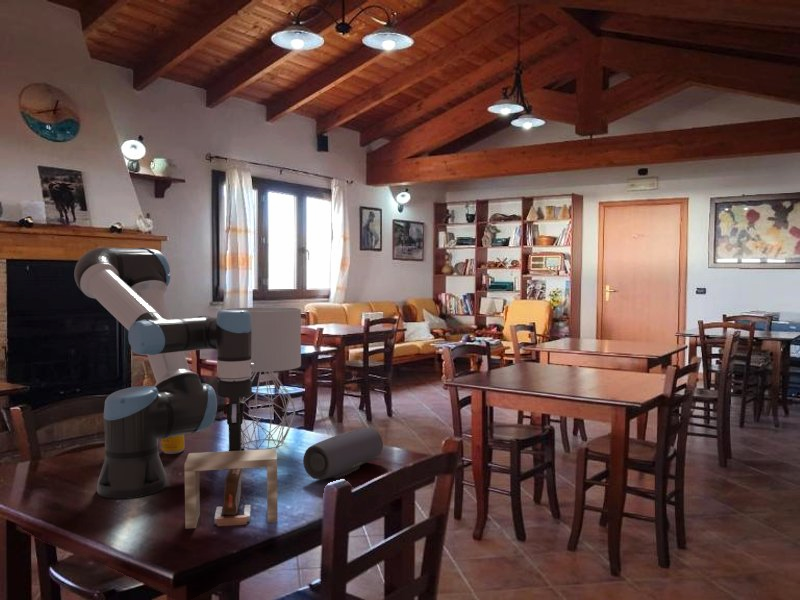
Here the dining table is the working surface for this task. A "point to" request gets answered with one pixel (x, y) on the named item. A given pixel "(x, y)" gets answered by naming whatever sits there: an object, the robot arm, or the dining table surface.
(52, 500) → the dining table surface
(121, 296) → the robot arm
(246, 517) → the grey and orange bracket
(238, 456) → the overhang
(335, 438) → the bluetooth speaker
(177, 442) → the beer can
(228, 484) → the tin
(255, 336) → the table lamp
